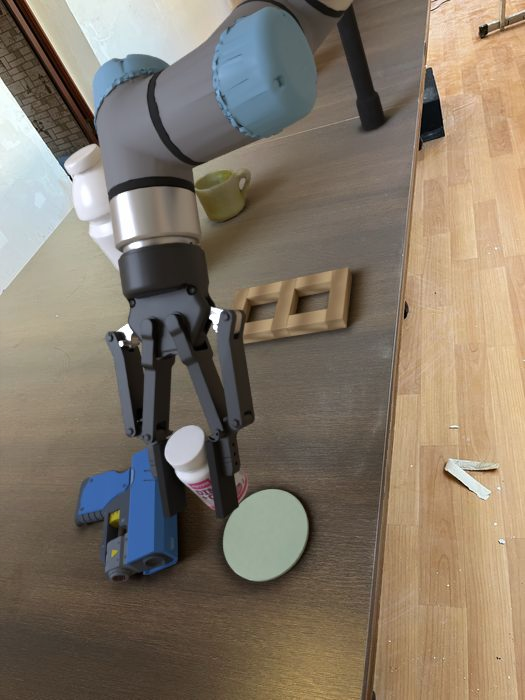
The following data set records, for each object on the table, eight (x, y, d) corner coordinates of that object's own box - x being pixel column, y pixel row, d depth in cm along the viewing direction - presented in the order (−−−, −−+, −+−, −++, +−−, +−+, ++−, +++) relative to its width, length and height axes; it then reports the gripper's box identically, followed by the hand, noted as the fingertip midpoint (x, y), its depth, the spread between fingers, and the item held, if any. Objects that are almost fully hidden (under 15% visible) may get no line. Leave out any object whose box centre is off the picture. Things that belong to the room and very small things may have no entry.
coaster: (314, 489, 54) (313, 488, 54) (302, 585, 48) (300, 583, 48) (235, 491, 59) (234, 489, 58) (214, 578, 52) (213, 577, 52)
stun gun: (53, 596, 55) (162, 548, 52) (72, 479, 67) (162, 433, 64) (80, 606, 58) (185, 561, 55) (94, 491, 70) (181, 448, 66)
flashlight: (388, 115, 107) (366, 120, 110) (357, -8, 92) (333, 1, 95) (381, 127, 105) (359, 132, 108) (349, 3, 89) (324, 12, 92)
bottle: (127, 296, 102) (31, 178, 83) (172, 253, 106) (91, 132, 88) (165, 310, 92) (66, 180, 74) (212, 262, 97) (130, 128, 79)
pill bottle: (218, 522, 46) (170, 480, 40) (198, 488, 49) (152, 445, 44) (258, 489, 46) (217, 443, 41) (236, 458, 50) (195, 411, 44)
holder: (352, 276, 76) (348, 266, 75) (346, 327, 69) (342, 318, 68) (241, 298, 84) (236, 290, 83) (226, 346, 77) (221, 338, 76)
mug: (196, 227, 105) (185, 179, 100) (209, 215, 114) (200, 170, 109) (252, 221, 102) (243, 171, 97) (261, 209, 111) (253, 162, 106)
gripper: (269, 232, 43) (309, 496, 43) (112, 272, 50) (147, 497, 51) (228, 218, 36) (276, 532, 36) (53, 267, 43) (94, 527, 44)
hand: (201, 511), depth 43 cm, fingers closed on pill bottle, 5 cm apart
